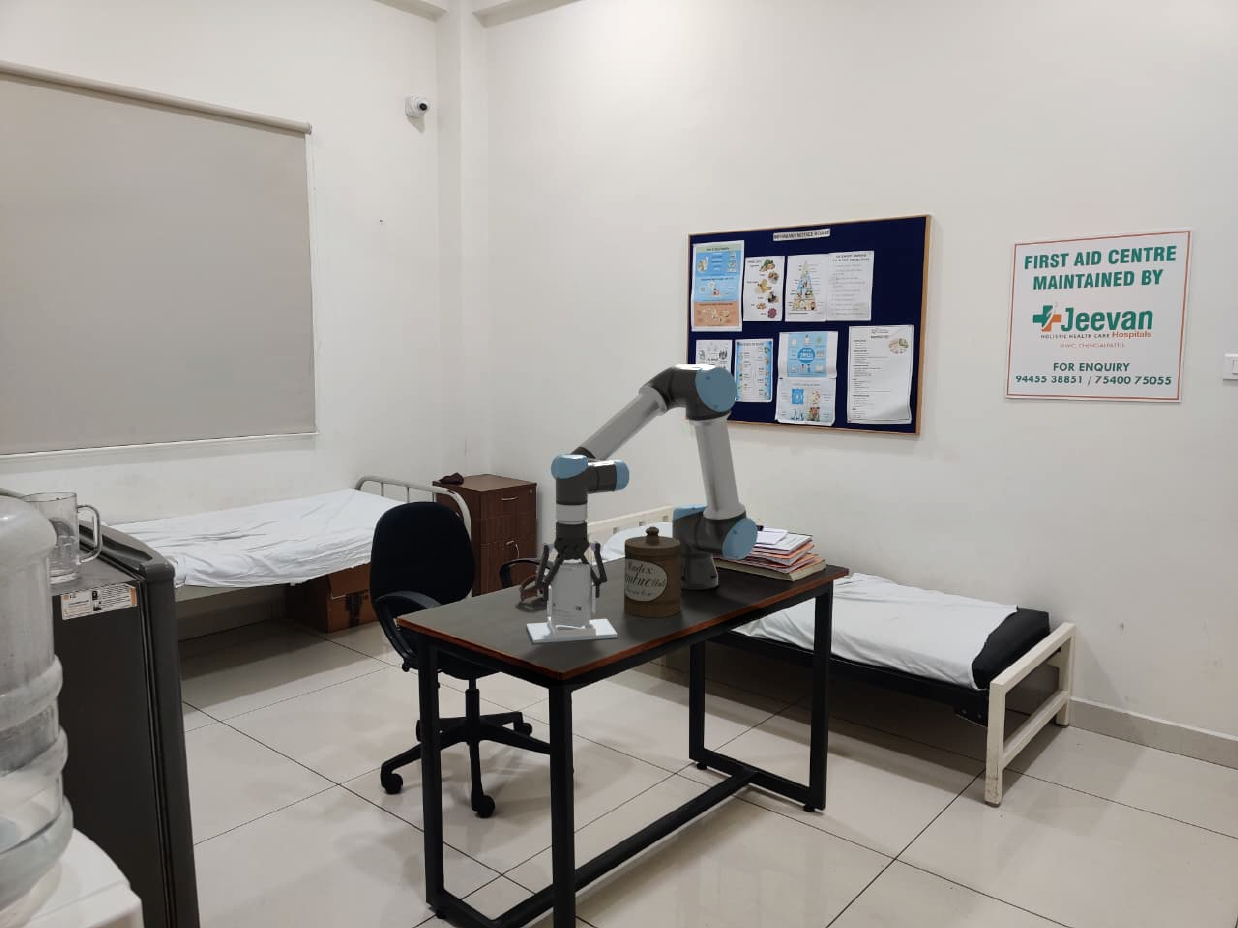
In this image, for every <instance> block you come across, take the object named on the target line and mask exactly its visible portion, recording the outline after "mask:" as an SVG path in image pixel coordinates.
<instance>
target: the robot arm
mask: <svg viewBox="0 0 1238 928" xmlns="http://www.w3.org/2000/svg"><path fill="white" fill-rule="evenodd" d="M737 397H738V385H737V382H736V379H735V377H734V375H733V374H732V373H731V371H729V370H727V368H726V367H723V366H720V365H715V364H710V363H709V364H686V363H683V364H682V363H679V364H676V365H672V366H670V367H668V368H665V369H664V370H662V371H660V372H659V373H657V374H656V375H655V376H653V377H651V379H649V380H648V381H646V382H645V383H644V384H643V385H642V386H641V387H640V388H639V389H638V395H636V396H635V397H634V398H633V399H632V400H630V401H629V402H628V403H627V404H626V405H625V406H624V407H622V408H621V409H620V410H619V411H618V412H616V414H614V415H613V416H612V417H611V418H610V419H608V420H607V421H606V422H604V424H603V425H602V426H600V428H598V429H597V430H596V431H594V433H593V434H591V435H590V436H589V437H588V438H587V439H586V440H584V441H583V442H582V443H581V444H580V445H579V446H578V447H576V448H575V449H574V450H573V451H571V453H561V454H559V455H557V456H555V457H554V459H553V460H552V462H551V465H550V471H551V472H550V474H551V475H552V478H553V479H554V480H555V520H557V521H556V522H555V539H554V542H553V543H547V542H544V543H543V544H541V548H542V554H541V557H540V562H539V564H538V569H537V573H536V574H535V575H536V579H535V582H536V584H537V586H542V587H543V594H542V599H543V601H544V602H546V612H547V614H548V616H551V615H552V587H551V586H550V584H551V583H552V580H553V578H554V576H555V575H556V573H557V571H558V569H559V567H560V565H561V564H562V563H563V561H564V560H575V561H581V562H583V564H589V563H590V562H589V560H588V559H587V557H586V554H585V553H586V552H587V550H588V549H589V548H590V550H591V551H592V552H593V556H594V559H595V562H596V567H597V570H598V574H599V577H598V576H597V574H596V572H595V571H594V569H593V566H592V567H591V566H590V576H591V578H592V585H591V606H590V613H593V614H594V613H596V599H599V598H600V589H601V585H602V584H603V583H607V582H608V577H607V573H606V569H605V566H604V562H603V558H602V555H601V549H602V546H601V543H600V542H599V541H598V540H595V541H594V542H593V541H589V539H588V522H587V520H588V518H589V516H588V514H589V513H588V504H589V503H588V502H589V499H588V498H589V495H592V494H600V493H608V492H613V493H614V492H617V491H621V490H624V489H625V488H626V487H627V486H628V484H629V482H630V470H629V467H628V465H627V464H626V463H625V462H624V461H623V460H621V459H610V458H611V457H612V456H613V455H615V454H616V453H617V452H618V451H619V450H620V449H621V448H622V447H624V445H626V444H627V443H628V442H629V441H631V439H633V437H635V436H636V435H638V433H640V432H641V430H643V429H644V428H645V427H646V426H647V425H648V424H650V423H651V422H652V421H653V420H654V419H655V418H656V417H662V416H664V415H665V414H667V412H669V411H670V410H673V409H676V408H677V409H678V408H683V409H684V408H685V411H686V416H687V420H688V421H689V422H691V423H692V424H694V429H695V437H696V442H697V449H698V456H699V461H700V467H701V473H702V480H703V486H704V492H705V499H706V503H695V504H694V503H693V504H685V505H684V504H683V505H680V506H679V505H678V506H675V508H674V509H673V513H672V520H671V521H672V524H671V525H672V527H671V528H672V529H671V530H672V534H671V535H672V536H671V538H675V539H677V540H679V541H680V567H681V590H690V591H692V590H693V591H701V590H709V589H713V588H715V587H717V586H718V585H719V574H718V571H717V569H716V564H715V561H714V557H713V555H716V556H720V557H724V558H725V559H733V560H742V559H744V558H746V557H747V556H748V555H749V554H750V553H751V552H752V551H753V550H754V547H755V545H756V544H757V540H758V536H759V533H758V531H759V530H758V526H757V523H756V521H754V520H753V519H752V518H749V517H747V510H746V506H745V504H743V503H741V502H740V501H739V496H738V495H739V494H738V487H737V482H736V481H737V480H736V475H735V467H734V462H733V461H734V460H733V456H732V455H733V454H732V447H731V442H730V441H731V440H730V435H729V429H728V428H729V427H728V423H727V422H728V421H727V419H728V417H729V416H730V415H731V413H732V409H731V408H732V407H733V406H734V404H736V398H737ZM609 459H610V460H609ZM553 550H555V551H556V552H557V554H556V557H555V559H554V561H553V563H555V564H554V566H553V564H551V567H550V568H549V570H548V571H547V574H545V573H546V568H547V565H548V561H549V558H550V554H551V553H552V552H553ZM544 575H545V576H546V577H545V579H544V580H543V576H544ZM535 582H534V583H535Z"/></svg>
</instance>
